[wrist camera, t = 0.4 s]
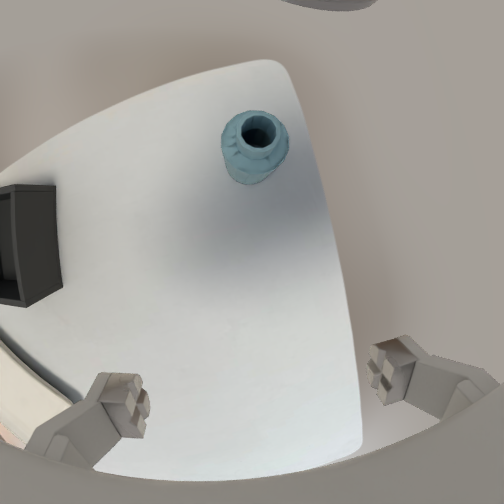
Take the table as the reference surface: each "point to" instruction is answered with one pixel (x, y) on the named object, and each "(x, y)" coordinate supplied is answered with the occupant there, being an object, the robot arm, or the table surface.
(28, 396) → the square plate
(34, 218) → the bin
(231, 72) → the table surface
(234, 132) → the bottle
